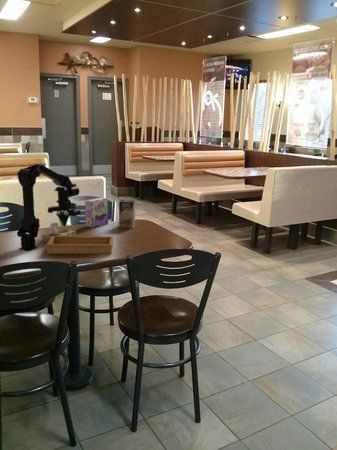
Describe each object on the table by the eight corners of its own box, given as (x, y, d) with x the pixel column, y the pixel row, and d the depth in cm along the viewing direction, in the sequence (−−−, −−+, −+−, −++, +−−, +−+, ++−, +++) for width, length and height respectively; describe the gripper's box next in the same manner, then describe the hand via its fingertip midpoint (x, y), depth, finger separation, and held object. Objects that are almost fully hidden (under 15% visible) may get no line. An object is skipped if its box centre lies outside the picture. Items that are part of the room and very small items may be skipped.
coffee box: (118, 227, 247) (118, 201, 243) (120, 225, 253) (120, 199, 249) (133, 228, 246) (133, 202, 242) (135, 225, 252) (135, 200, 248)
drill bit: (55, 241, 217) (54, 225, 214) (49, 240, 218) (48, 224, 216) (60, 239, 220) (59, 223, 218) (54, 238, 222) (53, 222, 220)
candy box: (92, 228, 245) (91, 201, 241) (85, 226, 248) (84, 200, 244) (108, 223, 255) (108, 198, 251) (102, 222, 259) (101, 197, 255)
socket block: (56, 243, 213) (56, 237, 213) (42, 240, 217) (41, 235, 217) (75, 235, 227) (75, 230, 226) (61, 233, 231) (61, 228, 231)
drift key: (67, 235, 225) (67, 226, 224) (60, 234, 227) (60, 225, 226) (69, 234, 226) (69, 226, 225) (62, 233, 228) (62, 225, 227)
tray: (113, 246, 212) (112, 235, 210) (111, 255, 197) (111, 244, 196) (53, 246, 210) (52, 235, 208) (47, 255, 195) (46, 244, 193)
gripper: (86, 197, 225) (87, 224, 228) (59, 194, 232) (61, 221, 236) (73, 201, 215) (74, 229, 219) (46, 197, 223) (47, 225, 226)
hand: (64, 226), depth 225 cm, fingers closed, pressing on drift key
